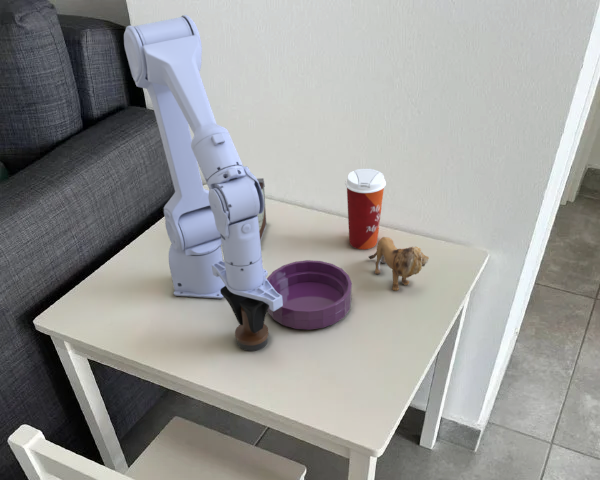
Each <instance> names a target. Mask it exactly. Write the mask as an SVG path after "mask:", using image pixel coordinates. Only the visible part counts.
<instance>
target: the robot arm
mask: <svg viewBox="0 0 600 480" xmlns="http://www.w3.org/2000/svg"><path fill="white" fill-rule="evenodd" d="M123 45H124V51H125V54H126V58H127V61H128V62H127V63H128V66H129V69H130V74H131V77H132V78H133V81H134V83H135V85H136V87H138V88H142V89H146V90H147V93H148V95H149V98H150V101H151V104H152V108H153V111H154V116H155V120H156V123H157V127H158V131H159V135H160V138H161V143H162V146H163V150H164V154H165V158H166V162H167V165H168V170H169V173H170V177H171V180H172V185H173V189H174V193H173V194H172V196H171V197H170V199H169V200H168V201H167V202H166V203H165V205H164V207H163V215H164V220H165V223H164V224H165V229H166V233H167V236H168V239H169V241H170V246H169V249H168V267H169V271H170V275H171V280H172V285H173V290H174V291H173V295H174V296H175V297H177V296H178V297H191V298H192V297H193V298H205V299H223V298H224V299H225V300H226V302H227V303H228V305H229V306H230V308H231V310H232V312H233V315H234V316H235V319H236V320H237V323H238V325H243V321H242V314H241V307H242V308H243V309H244V311H245V313H246V315H247V318H248V323H249V327H250V330H251V332H253V333H256V332H258V331H259V330H261V329H263V325H264V324H265V319H266V315H267V313H268V311H267V310H268V307H269V309H270V310H272V311H275V310H277V309H279V308H280V307H282V306H283V302H282V295H280V294H279V293H277V292H276V291H275V289H274V288H273V287H272V285H271V284H270V283H269V281H268V280H267V277H268V276H269V275H268V274H269V273H268V270H267V269H265V268H264V267H263V266H264V265H263V256H262V245H261V243H260V233H259V223H258V216H257V215H258V214H261V213H262V212H263V210H264V198H263V193H262V190H261V187H260V185H259V182H258V180H257V178H258V177H256V176H255V175H254V174H253V172H251V170H250V168H249V167H248V166H247V165H246V166H244V165H243V161H242V160H241V157H240V154H239V152H238V150H237V147H236V146H235V144H234V141H233V139H232V136H231V134H230V132H229V130H228V129H227V128H226V127H224V126H222V125H220V124H218V123H217V120H216V117H215V115H214V111H213V109H212V106H211V103H210V99H209V97H208V94H207V90H206V88H205V85H204V82H203V80H202V76H201V73H200V72H201V70H202V61H203V59H202V53H203V45H202V40H201V34H200V32H199V29H198V27H197V24H196V23H195V21H194V20H193V19H192V18H191V16H189V15H187V14H184V15H181V16H179V17H174V18H169V19H164V20H159V21H153V22H148V23H143V24H138V25H137V24H136V25H127V26H126V27H125V31H124V33H123ZM190 129H191V130H190ZM191 131H192V133H193V137H192V134H191ZM200 171H201V172H200ZM201 174H202V176H203V178H204V181H205V183H206V185H207V187H208V189H207V188H204V186H203V181H202V177H201Z"/></svg>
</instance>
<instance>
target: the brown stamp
mask: <svg viewBox="0 0 600 480" xmlns="http://www.w3.org/2000/svg"><path fill="white" fill-rule="evenodd" d="M241 314H242V321H243V325H240V324H238V326H236V328H235V331H234V336H235V339H236V341H237V346H238V347H239V348H240V349H241V350H244V351H247V352H256V351H259V350H262V349H263V348H265V347H266V346H267V344H268V342H269V327H268V326H267V325H266V324H265V323H264V325H263V329H261V330H259V331H258V332H256V333H253V332H251V330H250V327H249V323H248V318H247V315H246V313H245V311H244V309H243V308H242V307H241Z"/></svg>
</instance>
